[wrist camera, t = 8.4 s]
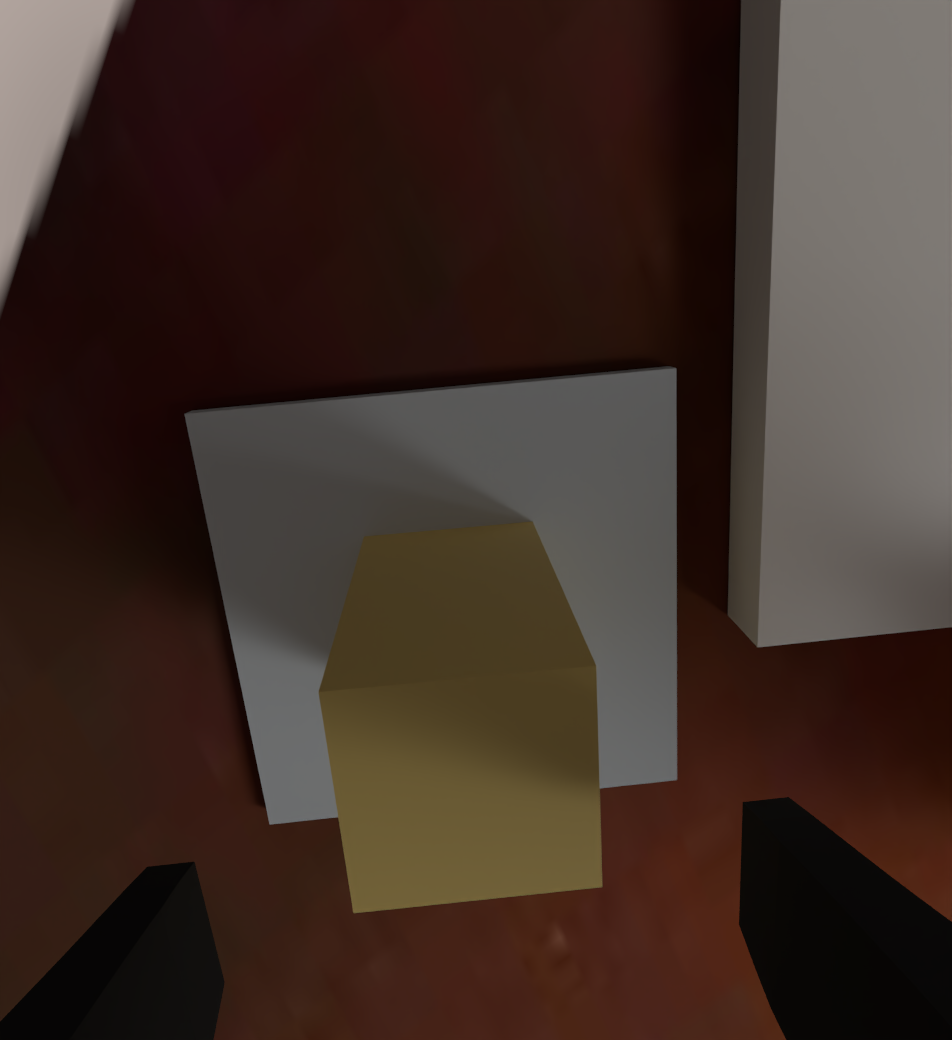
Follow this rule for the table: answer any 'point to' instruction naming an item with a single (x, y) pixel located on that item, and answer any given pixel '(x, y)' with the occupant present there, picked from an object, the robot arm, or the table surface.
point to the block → (462, 722)
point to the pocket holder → (842, 321)
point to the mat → (446, 505)
